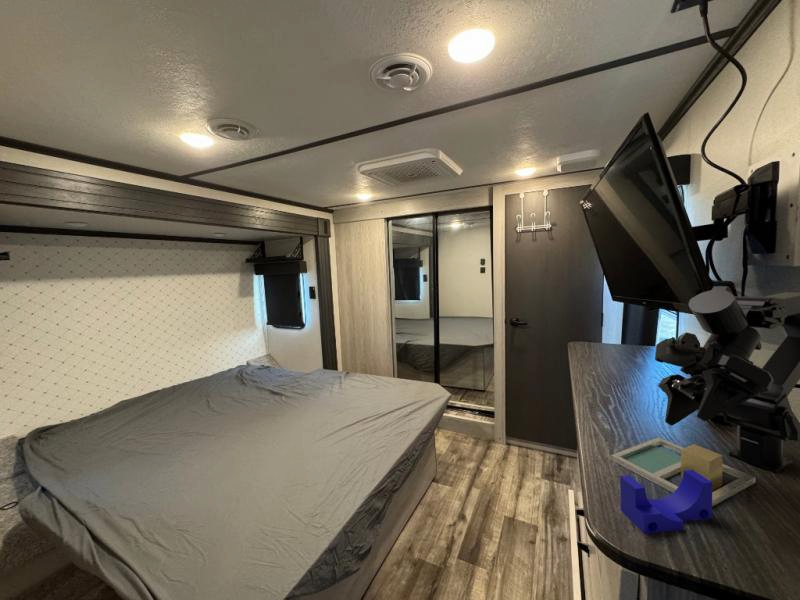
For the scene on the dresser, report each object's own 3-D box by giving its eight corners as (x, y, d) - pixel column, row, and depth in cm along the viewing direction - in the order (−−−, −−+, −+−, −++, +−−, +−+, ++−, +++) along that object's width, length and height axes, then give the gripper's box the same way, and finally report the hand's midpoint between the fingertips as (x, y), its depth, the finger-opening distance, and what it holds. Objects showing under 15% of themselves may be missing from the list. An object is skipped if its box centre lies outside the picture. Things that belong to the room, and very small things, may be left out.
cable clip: (643, 534, 45) (643, 495, 45) (620, 511, 50) (620, 476, 49) (722, 527, 45) (722, 488, 45) (692, 504, 50) (692, 469, 49)
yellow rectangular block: (693, 472, 57) (693, 444, 57) (722, 485, 54) (722, 455, 53) (680, 478, 56) (680, 449, 56) (709, 492, 52) (709, 461, 52)
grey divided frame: (657, 441, 68) (657, 437, 68) (755, 482, 54) (755, 477, 54) (610, 459, 62) (610, 455, 62) (705, 510, 48) (705, 504, 48)
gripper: (650, 341, 66) (612, 397, 63) (707, 305, 50) (660, 379, 47) (710, 374, 61) (672, 437, 58) (795, 346, 45) (748, 432, 42)
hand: (683, 421), depth 51 cm, fingers open, 9 cm apart
